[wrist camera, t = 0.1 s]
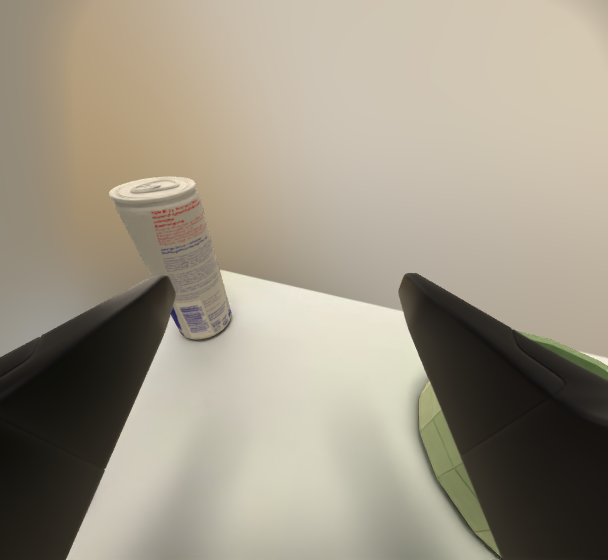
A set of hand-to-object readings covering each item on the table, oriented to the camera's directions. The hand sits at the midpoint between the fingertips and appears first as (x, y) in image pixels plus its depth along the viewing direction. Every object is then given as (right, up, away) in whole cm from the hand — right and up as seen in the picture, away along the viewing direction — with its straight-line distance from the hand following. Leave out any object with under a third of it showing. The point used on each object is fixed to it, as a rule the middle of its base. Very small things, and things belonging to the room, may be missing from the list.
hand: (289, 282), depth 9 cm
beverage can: (-11, -5, +17) cm, 21 cm away
